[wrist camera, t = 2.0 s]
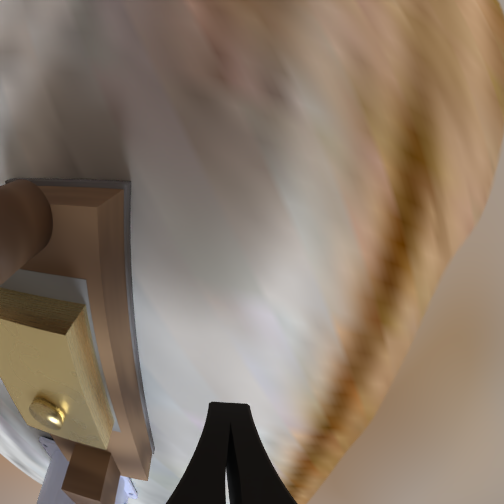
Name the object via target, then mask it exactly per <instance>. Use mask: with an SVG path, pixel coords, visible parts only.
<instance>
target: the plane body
mask: <svg viewBox="0 0 504 504" xmlns="http://www.w3.org/2000/svg"><path fill="white" fill-rule="evenodd" d="M5 183H6V184H5V185H3V186H0V287H1V288H6V289H10V290H14V291H19V292H23V293H28V294H33V295H38V296H43V297H48V298H53V299H58V300H64V301H69V302H75V303H80V304H86V308H87V314H88V320H89V325H90V330H91V335H92V340H93V344H94V349H95V353H96V358H97V362H98V366H99V370H100V374H101V377H102V381H103V385H104V388H105V392H106V395H107V399H108V402H109V405H110V409H111V412H112V415H113V418H114V421H115V422H114V425H113V429H112V432H111V435H110V439H109V443H108V446H107V450H104V449H100V448H97V447H93V446H89V445H85V444H82V443H78V442H75V441H72V440H69V439H65V438H62V437H59V436H56V435H53V434H50V435H51V436H52V438H53V440H54V441H55V443H56V444H57V446H58V447H59V449H60V450H61V452H62V453H63V455H64V456H65V458H66V459H67V461H69V465H68V468H67V471H66V474H65V478H64V481H63V484H62V488H61V489H62V490H63V491H64V493H65V494H66V495H67V496H68V497H69V498H70V499H71V500H72V501H73V502H74V503H75V504H115V499H116V494H117V489H118V484H119V479H120V476H125V477H129V478H134V479H139V480H145V481H148V476H149V469H150V463H151V457H152V454H154V450H155V447H154V443H153V438H152V433H151V429H150V424H149V419H148V413H147V408H146V402H145V396H144V390H143V384H142V377H141V371H140V363H139V356H138V347H137V339H136V329H135V319H134V307H133V294H132V277H131V252H130V188H131V182H129V181H110V180H84V179H10V180H7V181H5Z"/></svg>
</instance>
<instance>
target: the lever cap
mask: <svg viewBox="0 0 504 504" xmlns="http://www.w3.org/2000/svg"><path fill="white" fill-rule="evenodd" d="M0 377H1V379H2V381H3V383H4V385H5V387H6V389H7V391H8V392H9V394H10V396H11V398H12V400H13V401H14V403H15V405H16V407H17V408H18V410H19V412H20V414H21V415H22V417H23V419H24V420H25V422H26V423H27V425H29V426H31V427H34V428H37V429H39V430H42V431H45V432H48V433H50V434H53V435H56V436H59V437H62V438H65V439H69V440H72V441H75V442H78V443H82V444H85V445H89V446H93V447H97V448H100V449H104V450H107V446H108V443H109V439H110V435H111V432H112V429H113V425H114V422H115V421H114V418H113V415H112V412H111V409H110V405H109V402H108V399H107V395H106V392H105V388H104V385H103V381H102V377H101V374H100V370H99V366H98V362H97V358H96V353H95V349H94V344H93V340H92V335H91V330H90V325H89V320H88V314H87V308H86V304H80V303H75V302H69V301H64V300H58V299H53V298H48V297H43V296H38V295H33V294H28V293H23V292H19V291H14V290H10V289H6V288H1V287H0Z"/></svg>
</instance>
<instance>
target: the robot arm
mask: <svg viewBox="0 0 504 504" xmlns="http://www.w3.org/2000/svg"><path fill="white" fill-rule="evenodd" d="M39 441H40V443H41V444H42V446H43V447H44V449H45V450H46V451H47V453H48V454H49V456H50V457H51V458H52V459H51V461H50V464H49V467H48V470H47V473H46V476H45V479H44V482H43V485H42V488H41V491H40V494H39V497H38V501H37V504H75V503H74V502H73V501H72V500H71V499H70V498H69V497H68V496H67V495H66V494H65V493H64V491H63V490H62V489H61V488H62V484H63V481H64V478H65V474H66V471H67V468H68V465H69V461H67V459H66V458H65V456H64V455H63V453H62V452H61V450H60V449H59V447H58V446H57V444H56V443H55V441H53V440H50V439H47V438H45V437H40V438H39ZM226 471H227V481H228V490H229V499H230V504H297V503H296V501H295V500H294V499H293V497H292V496H291V494H290V493H289V491H288V490H287V489H286V487H285V485H284V484H283V482H282V481H281V479H280V477H279V476H278V474H277V472H276V470H275V469H274V467H273V465H272V463H271V461H270V459H269V457H268V455H267V453H266V451H265V449H264V447H263V444H262V442H261V440H260V437H259V435H258V432H257V430H256V427H255V424H254V421H253V418H252V414H251V410H250V406H249V405H248V404H240V403H223V402H211V403H209V408H208V414H207V418H206V422H205V426H204V429H203V432H202V435H201V437H200V440H199V442H198V445H197V447H196V450H195V452H194V455H193V457H192V459H191V461H190V463H189V465H188V467H187V469H186V471H185V473H184V475H183V477H182V478H181V480H180V482H179V484H178V485H177V487H176V489H175V490H174V492H173V494H172V495H171V497H170V498H169V500H168V501H167V503H166V504H226V496H225V472H226ZM128 497H129V498H133V499H137V498H138V495H137V493H136V491H135V489H134V487H133V485H132V483H131V481H130V479H129V477H125V476H120V479H119V484H118V489H117V494H116V499H115V504H127V503H128Z"/></svg>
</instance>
